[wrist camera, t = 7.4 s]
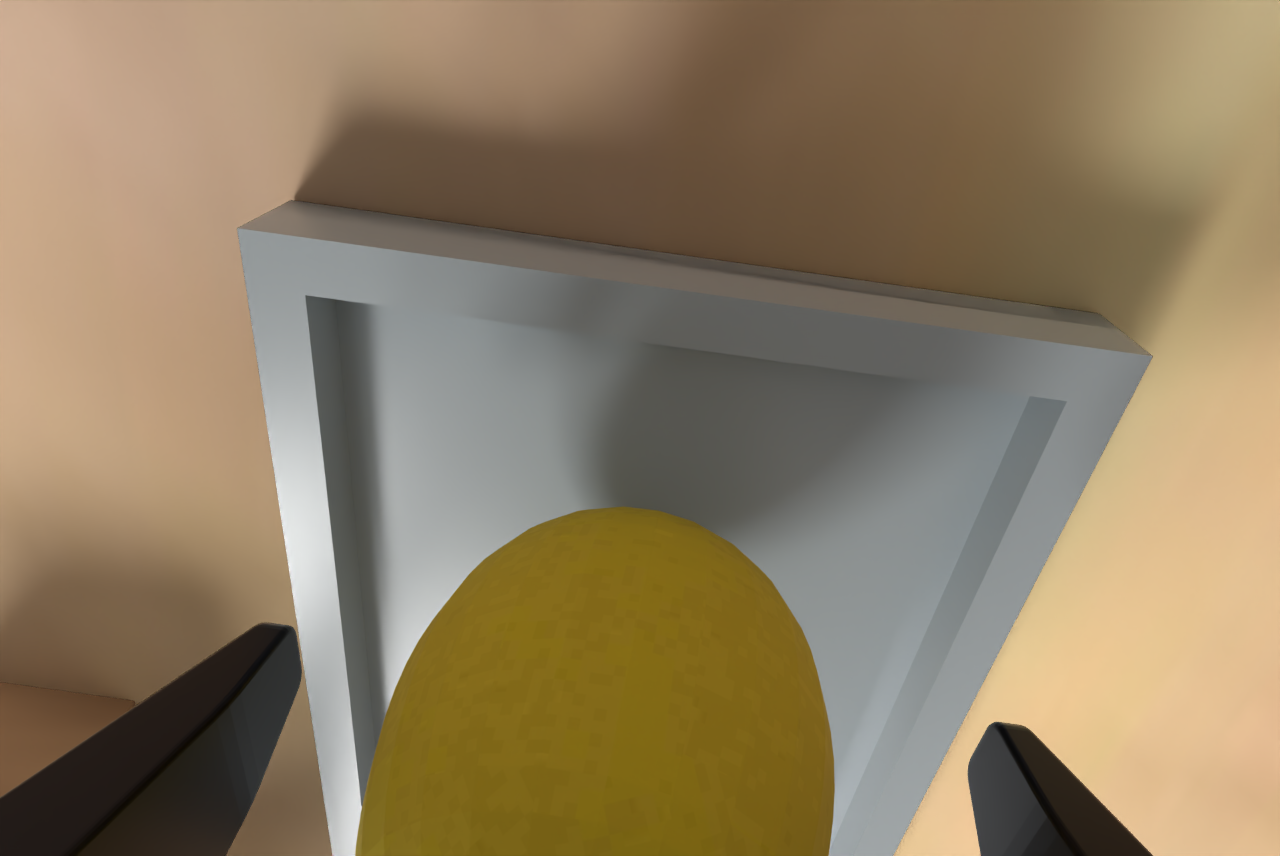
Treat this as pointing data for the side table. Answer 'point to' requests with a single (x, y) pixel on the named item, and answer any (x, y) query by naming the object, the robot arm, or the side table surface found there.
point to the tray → (668, 458)
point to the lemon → (606, 706)
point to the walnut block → (46, 727)
